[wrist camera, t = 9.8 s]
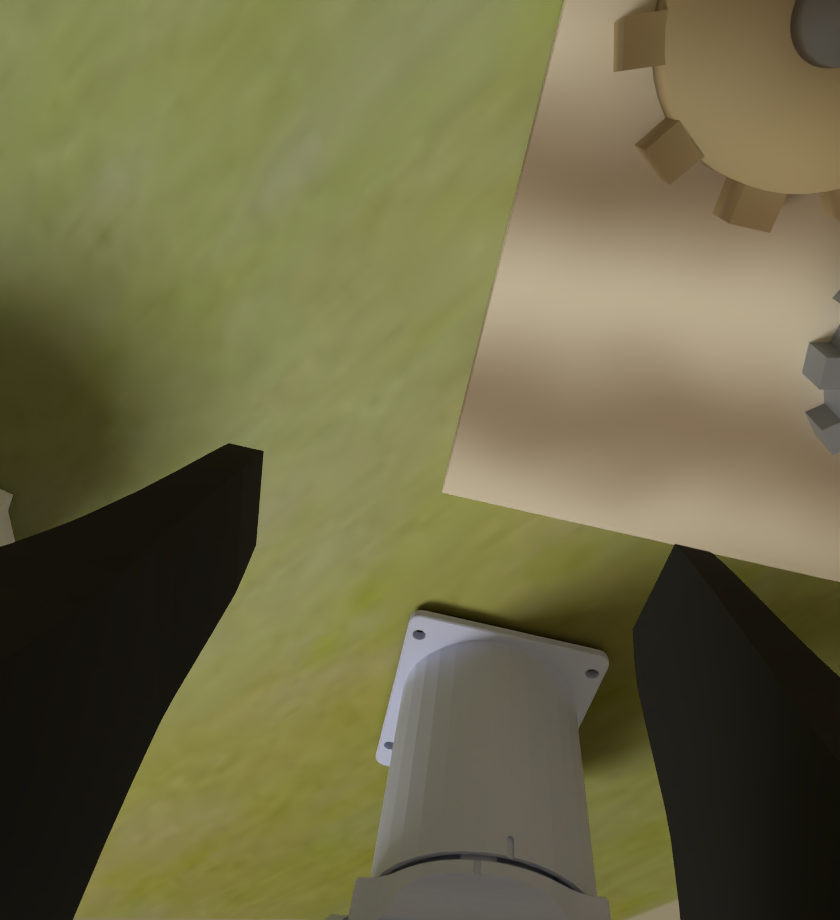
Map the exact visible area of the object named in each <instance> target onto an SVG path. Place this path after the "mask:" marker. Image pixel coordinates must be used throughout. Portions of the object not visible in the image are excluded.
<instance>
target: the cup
mask: <svg viewBox="0 0 840 920" xmlns="http://www.w3.org/2000/svg"><path fill="white" fill-rule="evenodd" d="M12 498H13V494H10V493H8V492H6V491H4V490H2V489H0V547H1V546H4V545H7V544H10V543H13V542H15V539H14V535H13V530H12V526H11V521H10V517H9V512H8V509H9V506H10V504H11V501H12Z"/></svg>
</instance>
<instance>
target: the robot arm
mask: <svg viewBox="0 0 840 920" xmlns="http://www.w3.org/2000/svg"><path fill="white" fill-rule="evenodd" d="M262 464H263V451H261V450H256V449H252V448H247V447H243V446H239V445H234V444H230V443H229V444H227V445H224V446H222V447H220V448H218V449H216V450H215V451H213V452H211V453H209V454H207V455H205V456H203V457H202V458H200V459H198V460H196V461H194V462H192V463H191V464H189V465H187V466H185V467H183V468H181V469H180V470H178V471H176V472H174V473H172V474H170V475H168V476H166V477H164V478H162V479H160V480H159V481H157V482H155V483H153V484H151V485H149V486H147V487H145V488H143V489H141V490H139V491H137V492H135V493H133V494H131V495H128V496H126V497H124V498H122V499H120V500H118V501H115V502H113V503H111V504H109V505H107V506H105V507H102V508H100V509H98V510H96V511H94V512H92V513H89V514H87V515H85V516H83V517H80V518H78V519H75V520H73V521H71V522H68V523H66V524H63V525H60V526H58V527H55V528H53V529H50V530H47V531H44V532H42V533H39V534H36V535H33V536H31V537H28V538H25V539H22V540H19V541H16V542H13V543H10V544H7V545H4V546H1V547H0V920H73V918H74V915H75V913H76V911H77V908H78V906H79V904H80V901H81V899H82V896H83V894H84V892H85V889H86V887H87V885H88V882H89V880H90V878H91V875H92V873H93V871H94V868H95V866H96V863H97V861H98V859H99V856H100V854H101V852H102V849H103V847H104V845H105V842H106V840H107V838H108V836H109V833H110V831H111V829H112V827H113V824H114V822H115V820H116V818H117V815H118V813H119V811H120V809H121V806H122V804H123V802H124V800H125V797H126V795H127V793H128V791H129V788H130V786H131V784H132V782H133V779H134V777H135V775H136V773H137V771H138V769H139V767H140V764H141V762H142V760H143V758H144V756H145V754H146V752H147V749H148V747H149V745H150V743H151V741H152V739H153V736H154V734H155V732H156V730H157V728H158V726H159V724H160V722H161V720H162V718H163V716H164V714H165V712H166V711H167V709H168V707H169V705H170V703H171V701H172V699H173V698H174V696H175V694H176V693H177V691H178V689H179V688H180V686H181V684H182V683H183V681H184V679H185V678H186V676H187V674H188V673H189V671H190V669H191V668H192V666H193V664H194V662H195V661H196V659H197V657H198V656H199V654H200V652H201V651H202V649H203V647H204V646H205V644H206V642H207V641H208V639H209V637H210V636H211V634H212V632H213V631H214V629H215V627H216V626H217V624H218V622H219V620H220V619H221V617H222V615H223V614H224V612H225V610H226V609H227V607H228V605H229V603H230V602H231V600H232V598H233V596H234V595H235V593H236V591H237V588H238V586H239V584H240V582H241V579H242V577H243V575H244V573H245V570H246V568H247V565H248V563H249V561H250V558H251V556H252V553H253V551H254V548H255V546H256V539H257V526H258V514H259V501H260V489H261V476H262ZM416 630H421V631H424V632H423V633H419V632H417V631H416ZM633 642H634V658H635V668H636V679H637V686H638V691H639V696H640V700H641V705H642V709H643V714H644V718H645V723H646V728H647V732H648V736H649V741H650V745H651V749H652V753H653V758H654V762H655V766H656V771H657V775H658V780H659V784H660V788H661V793H662V797H663V801H664V806H665V810H666V815H667V821H668V826H669V831H670V837H671V843H672V851H673V860H674V868H675V876H676V884H677V892H678V900H679V908H680V919H681V920H840V677H839V676H838V675H837V674H836V673H835V672H833V671H832V670H831V669H830V668H829V667H828V666H827V665H826V664H825V663H824V662H823V661H822V660H821V659H819V658H818V657H817V656H816V655H815V654H814V653H813V652H812V651H811V650H810V649H809V648H808V647H807V646H806V645H805V644H804V643H803V642H802V641H801V640H800V639H799V638H798V637H797V636H796V635H795V634H794V633H793V632H792V631H791V630H790V629H789V628H788V627H787V626H786V625H785V624H784V623H783V622H782V621H781V620H780V619H779V618H778V617H777V616H776V615H775V614H774V613H773V612H772V611H771V610H770V609H769V608H768V607H767V606H766V605H765V604H764V603H763V602H762V601H761V600H760V599H759V598H758V597H757V596H756V595H755V594H754V593H753V592H752V591H751V590H750V589H749V588H748V587H747V586H746V585H745V584H744V583H743V582H742V581H741V580H740V579H739V578H738V577H737V576H736V575H735V574H734V573H733V572H732V571H731V570H730V569H729V568H728V567H727V566H726V565H725V564H724V563H723V562H722V561H720V560H719V559H718V558H717V557H716V556H715V555H714V554H712V553H711V552H709V551H705V550H700V549H696V548H691V547H687V546H682V545H678V544H675V545H674V547H673V549H672V551H671V553H670V555H669V557H668V559H667V561H666V563H665V565H664V568H663V570H662V572H661V574H660V576H659V578H658V580H657V582H656V584H655V586H654V588H653V590H652V592H651V594H650V596H649V598H648V600H647V602H646V604H645V606H644V608H643V610H642V612H641V614H640V616H639V618H638V620H637V622H636V624H635V626H634V628H633ZM608 667H609V660H608V656H607V654H606V653H605V652H603V651H601V650H598V649H593V648H589V647H584V646H580V645H576V644H571V643H567V642H562V641H558V640H554V639H549V638H545V637H540V636H536V635H531V634H527V633H523V632H518V631H514V630H509V629H505V628H500V627H496V626H492V625H487V624H483V623H478V622H474V621H470V620H465V619H461V618H456V617H452V616H447V615H443V614H439V613H434V612H430V611H425V610H418V611H415V612H413V613H412V614H411V616H410V619H409V623H408V627H407V631H406V635H405V639H404V643H403V647H402V651H401V655H400V659H399V663H398V667H397V671H396V675H395V679H394V683H393V687H392V691H391V695H390V699H389V703H388V707H387V711H386V715H385V719H384V723H383V727H382V731H381V735H380V739H379V743H378V747H377V752H376V760H377V761H378V762H379V763H380V764H382V765H386V766H389V772H388V778H387V784H386V790H385V796H384V801H383V807H382V813H381V819H380V825H379V830H378V836H377V842H376V848H375V854H374V860H373V865H372V871H371V877H358V878H357V879H356V880H355V885H354V890H353V896H352V901H351V906H350V911H349V916H347V915H339V914H331V915H329V916H328V917H326V918H325V919H324V920H611V916H610V908H609V901H608V899H607V898H605V897H599V896H597V890H596V881H595V872H594V863H593V855H592V846H591V837H590V828H589V819H588V810H587V801H586V792H585V784H584V775H583V766H582V757H581V748H580V739H579V730H578V729H579V727H580V725H581V723H582V721H583V719H584V717H585V714H586V712H587V710H588V708H589V706H590V704H591V702H592V700H593V698H594V696H595V694H596V692H597V690H598V688H599V686H600V684H601V682H602V680H603V677H604V675H605V673H606V671H607V669H608ZM590 669H594V671H588V670H590Z"/></svg>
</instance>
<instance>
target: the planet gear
mask: <svg viewBox="0 0 840 920" xmlns="http://www.w3.org/2000/svg"><path fill="white" fill-rule="evenodd" d="M833 299H834V300H836V301H837V302H839V303H840V290H839V291H838V292H837V293H836V294H835V296H834V297H833ZM802 373H803V374H804V375H805V376H806V377H807V378H808V379H809V380H810V381H811V382H812V383H813V384H814V385H815V386H816V387H817V388H818V389H819V390H823V391H824V404H822V405H820V406H817V407H815V408H813V409H811V410H808V411H806V412H805V413H806V416H807V418H808V420H809V422H810V425H811V427H812V429H813V431H814V434H815V436H816V437H817V438H818V439H819V440H820V441H821V443H822V444H823V445H824V446H825V447H826V448H827V449H828V450H829V452H830V453H831V454H832V455H834V454H836V453H839V452H840V324H839V326H838V328H837V330H836V332H835V334H834V335H833V337H832V339H831V341H830V342H815V343H809V344H808V349H807V353H806V357H805V362H804V366H803V370H802Z"/></svg>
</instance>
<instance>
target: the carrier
mask: <svg viewBox="0 0 840 920" xmlns="http://www.w3.org/2000/svg"><path fill="white" fill-rule="evenodd" d="M839 290H840V0H564V2H563V6H562V10H561V14H560V18H559V22H558V26H557V30H556V34H555V38H554V42H553V46H552V50H551V54H550V58H549V62H548V66H547V70H546V74H545V78H544V82H543V86H542V90H541V94H540V98H539V102H538V106H537V110H536V114H535V118H534V122H533V126H532V130H531V134H530V138H529V142H528V146H527V150H526V154H525V158H524V162H523V166H522V170H521V174H520V178H519V182H518V186H517V190H516V194H515V198H514V202H513V206H512V210H511V214H510V218H509V222H508V226H507V230H506V234H505V238H504V242H503V246H502V250H501V254H500V258H499V262H498V266H497V270H496V274H495V278H494V282H493V286H492V290H491V294H490V298H489V302H488V306H487V310H486V314H485V318H484V322H483V326H482V330H481V334H480V338H479V342H478V346H477V350H476V354H475V358H474V362H473V366H472V370H471V374H470V378H469V382H468V386H467V390H466V394H465V398H464V402H463V406H462V410H461V414H460V418H459V422H458V426H457V430H456V434H455V438H454V442H453V446H452V450H451V454H450V458H449V462H448V466H447V470H446V474H445V479H444V485H443V491H442V493H447V494H451V495H455V496H460V497H464V498H469V499H473V500H478V501H482V502H486V503H491V504H495V505H500V506H504V507H509V508H513V509H518V510H522V511H526V512H531V513H535V514H540V515H544V516H549V517H553V518H557V519H562V520H566V521H571V522H575V523H580V524H584V525H588V526H593V527H597V528H602V529H606V530H611V531H615V532H620V533H624V534H628V535H633V536H637V537H642V538H646V539H651V540H655V541H659V542H664V543H668V544H673V545H675V544H678V545H682V546H687V547H691V548H696V549H700V550H705V551H709V552H711V553H713V554H717V555H721V556H726V557H730V558H735V559H739V560H744V561H748V562H753V563H757V564H761V565H766V566H770V567H775V568H779V569H784V570H788V571H792V572H797V573H801V574H806V575H810V576H815V577H819V578H823V579H828V580H832V581H837V582H840V452H839V453H836V454H834V455H832V454H831V453H830V452H829V450H828V449H827V448H826V447H825V446H824V445H823V444H822V443H821V441H820V440H819V439H818V438H817V437H816V436H815V434H814V431H813V429H812V427H811V425H810V422H809V420H808V418H807V416H806V413H805V412H806V411H808V410H811V409H813V408H815V407H817V406H820V405H822V404H824V391H823V390H819V389H818V388H817V387H816V386H815V385H814V384H813V383H812V382H811V381H810V380H809V379H808V378H807V377H806V376H805V375H804V374H803V373H802V370H803V366H804V362H805V357H806V353H807V349H808V344H809V343H815V342H830V341H831V339H832V337H833V335H834V334H835V332H836V330H837V328H838V326H839V324H840V303H839V302H837V301H836V300H834V299H833V297H834V296H835V294H836V293H837V292H838V291H839Z"/></svg>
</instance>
